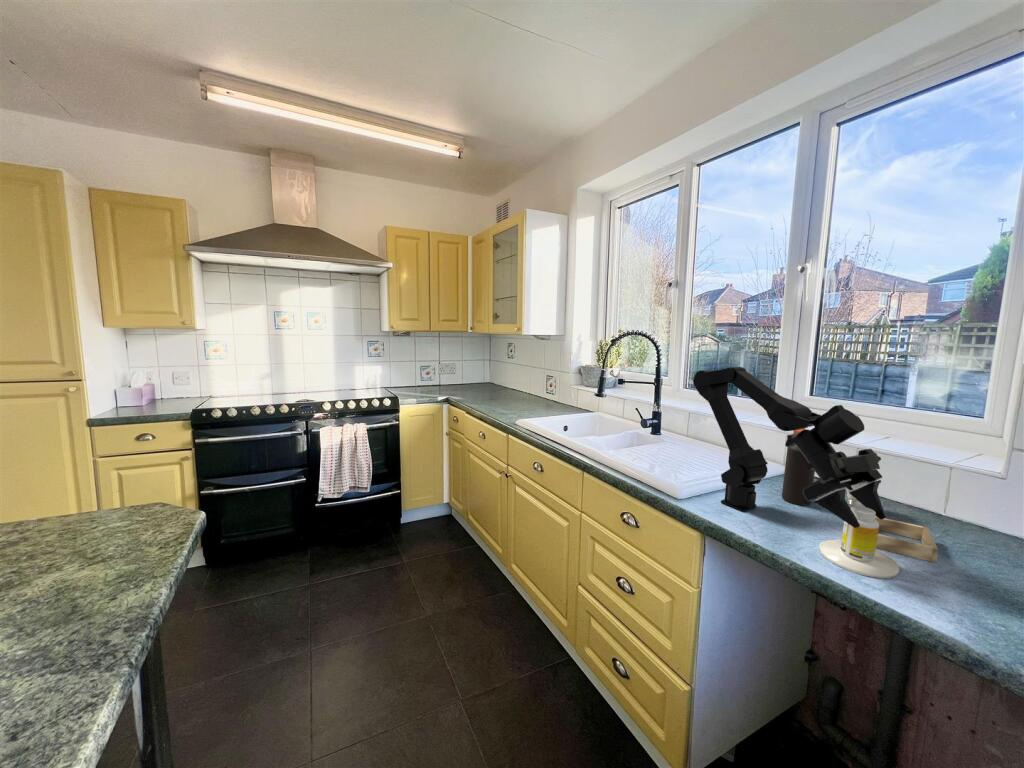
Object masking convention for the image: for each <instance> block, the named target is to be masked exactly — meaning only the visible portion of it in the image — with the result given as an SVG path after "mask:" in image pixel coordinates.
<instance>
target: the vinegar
mask: <svg viewBox="0 0 1024 768" xmlns="http://www.w3.org/2000/svg"><path fill="white" fill-rule="evenodd" d="M802 430H809V429H808V428H805V429H800V430H793V432H792V434H795V435H796V434H798V433H799V432H801V431H802ZM808 464H809V462H808V461H807V459H806V458H805V457H804V455H803V454H802V452H801V451H800V450H799V448H798V447H797V445H794V446H789V447H787V448H786V455H785V464H784V465H785V466H784V471H783V472H784V473H783V483H782V489H781V490H782V491H781V498H782V499H783V500H784V501H786V502H787V503H789V504H793V505H798V506H807V505H810V504H811V503H812V501H807V499H806V498H805V496H804V495H803V487H805V486H807V485H809V484H811V483H813V482H815V473H816V472H815V471H814V469H811V470H809V469H808V468H807V467H806V466H807V465H808Z"/></svg>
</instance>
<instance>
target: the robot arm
mask: <svg viewBox="0 0 1024 768" xmlns="http://www.w3.org/2000/svg"><path fill="white" fill-rule="evenodd" d="M692 383H693V386H694V388H695V390H696V391H697V393H698V394H699V395H700V396H701V398H702V399H704V400H705V401H706V402H708V404H709V406H710V408H711V410H712V413H713V415H714V418H715V420H716V422H717V425H718V427H719V430H720V432H721V434H722V436H723V438H724V441H725V443H726V445H727V449H728V450H729V451H728V452H729V454H728V466H729V469H727V470H725V471H724V472H723V473H721V474H720V478H721V482H722V483H723V484H725V491H724V498H723V499H721V500H720V503H721V504H723V505H726V506H728V507H730V508H734V509H736V510H738V511H740V512H747V511H748V510H751V509H754V508H757V504H756V502H757V501H756V499H757V492H756V485H759V484H761V481H762V480H763V479H764V478H765V477H766V476H767V473H768V466H767V465H768V464H769V463H768V461H767V460H766V459H765V457H764V454H763V451H762V450H761V449H760V448H758V449H754V448H753V447H751V446H750V443H748V439H747V438H746V436H745V433H744V431H743V429H742V426H741V425H740V422H739V420H738V418H737V415H736V413H735V411H734V409H733V407H732V404H731V401H730V400H729V398H728V392H729V384H732V385H733V386H734V387H736V388H737V389H738V390H739V391H741V392H742V393H743V394H745V395H746V396H747V397H749V398H750V399H751V400H752V401H754V402H755V403H756V404H758V405H759V406H760V407H761V408H762V409H763V410H764V411H765V412H766V414H767V417H768V419H769V420H770V421H771V422H772V423H773V424H774V425H775V426H776V428H778V429H779V430H781V431H783V432H791V431H794V430H800V429H808V428H811V427H813V428H812V429H808V430H802V431H801V432H799V433H798V434H796V435H795V434H793V433H792V434H788V435H787V436H786V437H787V438H786V441H785V444H784V446H785V447H789V446H794V445H797V447H798V448H799V450H800V451H801V452H802V454H803V455H804V457H805V458H806V459H807V461H808V462H809V464H808V465H807V466H806V467H807V468H808V469H809V470H811V469H814V471H815V473H816V475H817V476H818V478H819V479H818V480H816V481H815V480H814V482H813V483H811V484H809V485H807V486H805V487H803V495H804V496H805V498H806V499H807V501H811V502H812V501H813V502H812V503H813V504H815V505H818V506H820V507H822V508H823V509H824V510H827V511H829V512H830V513H832V514H833V515H835V516H836V517H838V518H839V519H841V520H842V521H843V522H844V521H845V522H847V523H848V524H850V525H851V526H853V527H854V528H857V527H859V526H860V524H859V522H858V520H857V518H856V517H855V515H854V513H853V512H852V510H851V506H849V505H848V503H847V502H848V501H846V492H847V490H846V488H847V489H849V490H854V491H852V492H850V494H851V495H852V496H853V497H854V498H856V499H857V500H858V501H859V502H860V503H861V504H862V506H863V507H867V508H870V509H872V510H874V511H875V512H876V515H875V516H877V517H878V518H879V519H884V518H886V519H887V517H886V516H887V515H886V513H885V511H884V508H883V507H884V506H883V505H882V503H881V502H882V501H881V499H880V496H879V494H878V489H879V485H880V484H881V483H882V479H883V475H882V474H881V473H880V472H879V470H880V469H881V467H880V464H879V463H880V461H881V460H882V457H881V456H879V455H878V453H877V452H875V451H874V450H873V449H872V448H866V449H860V450H858V454H857V455H851V456H847V455H846V454H845V452H842V450H841V451H836V449H835V448H834V447H833V446H832V444H833V445H840V444H842V443H844V442H846V441H848V440H849V439H851V438H853V437H855V436H857V435H859V434H860V433H861V432H863V431H865V424H864V422H863V420H862V419H861V418H860V416H859V415H856V414H855V413H853V412H852V411H851V410H849V409H846V408H845V407H844V406H843V405H842V404H838V405H833V406H832V407H831V408H830V409H828V411H826V412H825V413H823V414H819V413H815V412H813V411H812V410H811V409H810V408H809V407H807V406H806V405H803V403H800V402H798V401H795V400H794V399H789V398H787V397H784V396H782V395H780V394H779V393H777V392H776V391H774V390H773V389H772V388H770V387H769V386H768V385H767V384H764V383H763V382H762V381H760V380H759V379H758V378H757V377H755V376H753V375H752V374H751V373H750V372H749V371H747V370H746V368H745V367H743V366H728V367H726V368H722V369H703V370H698V371H697V372H696V373H695V374H694V376H693V379H692ZM831 443H832V444H831ZM845 487H846V488H845Z"/></svg>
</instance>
